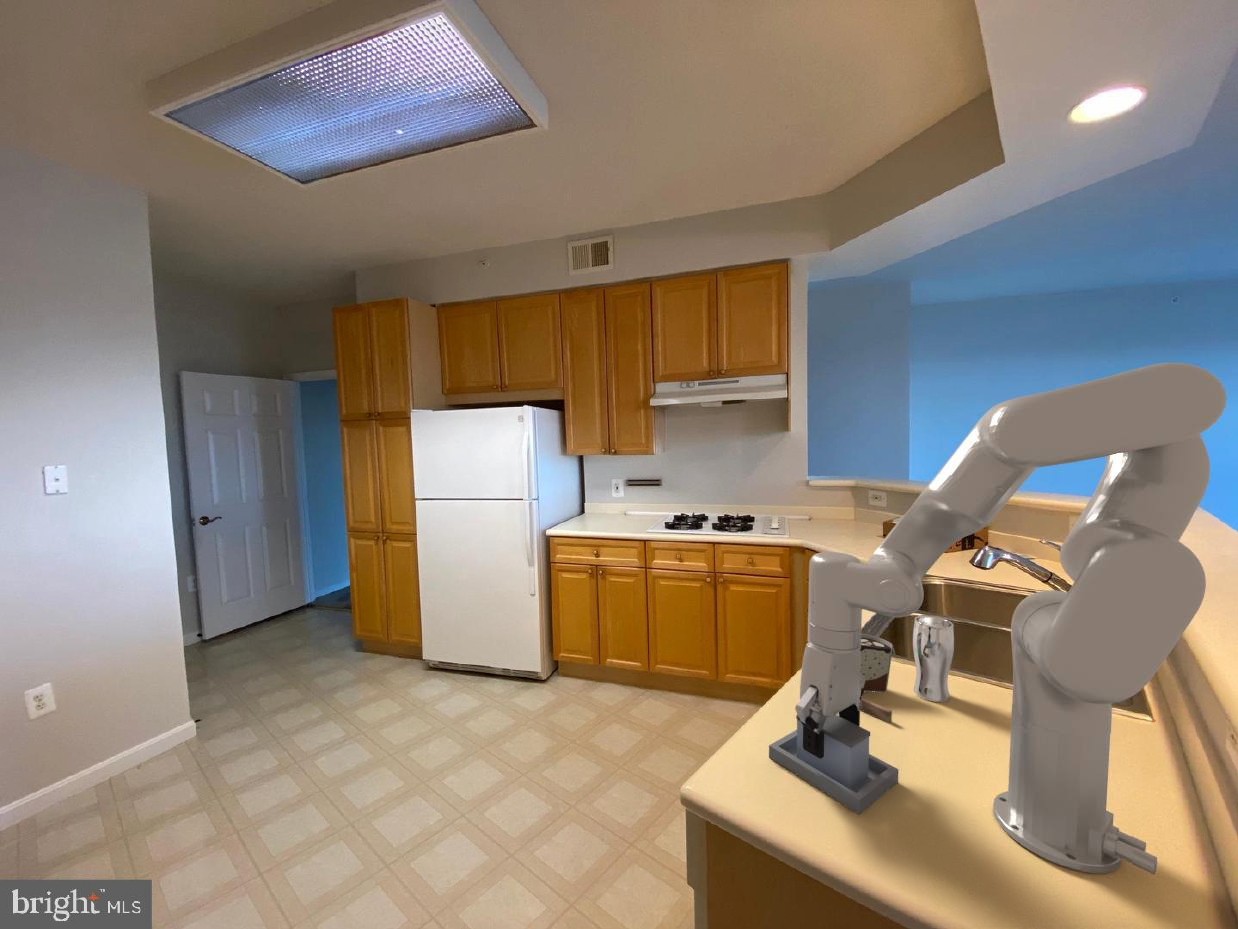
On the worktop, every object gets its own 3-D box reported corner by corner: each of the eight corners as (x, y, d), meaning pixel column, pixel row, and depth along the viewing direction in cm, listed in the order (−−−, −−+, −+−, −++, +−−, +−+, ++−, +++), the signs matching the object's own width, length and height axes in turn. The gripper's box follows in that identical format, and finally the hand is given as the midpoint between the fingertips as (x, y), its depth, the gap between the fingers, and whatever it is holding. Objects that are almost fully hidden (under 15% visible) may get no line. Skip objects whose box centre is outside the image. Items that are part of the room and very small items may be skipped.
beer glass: (960, 704, 96) (963, 628, 96) (924, 704, 96) (926, 628, 96) (937, 686, 103) (940, 615, 102) (904, 686, 103) (906, 615, 103)
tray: (898, 782, 75) (898, 769, 75) (858, 814, 68) (859, 800, 68) (809, 733, 87) (809, 722, 87) (768, 757, 81) (769, 745, 80)
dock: (891, 721, 91) (891, 710, 91) (849, 749, 83) (849, 737, 82) (839, 698, 99) (840, 688, 99) (796, 721, 91) (797, 710, 91)
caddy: (814, 745, 83) (815, 705, 82) (869, 776, 75) (870, 732, 75) (795, 757, 80) (796, 715, 80) (850, 790, 72) (851, 744, 72)
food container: (881, 678, 107) (882, 632, 106) (894, 693, 101) (895, 644, 100) (821, 676, 108) (822, 630, 107) (830, 690, 102) (831, 642, 101)
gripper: (842, 615, 85) (840, 713, 85) (778, 639, 74) (776, 750, 75) (887, 629, 78) (884, 734, 79) (823, 657, 68) (821, 777, 69)
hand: (831, 742), depth 77 cm, fingers open, 9 cm apart
